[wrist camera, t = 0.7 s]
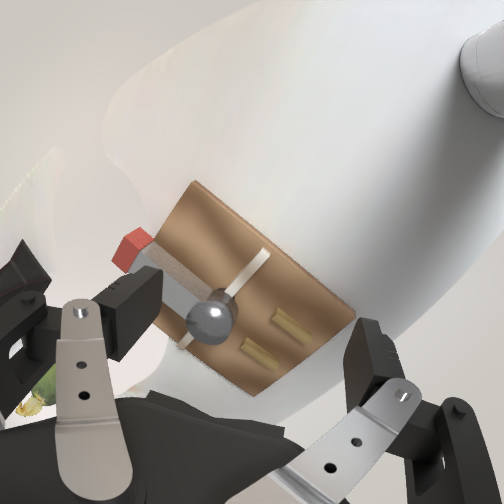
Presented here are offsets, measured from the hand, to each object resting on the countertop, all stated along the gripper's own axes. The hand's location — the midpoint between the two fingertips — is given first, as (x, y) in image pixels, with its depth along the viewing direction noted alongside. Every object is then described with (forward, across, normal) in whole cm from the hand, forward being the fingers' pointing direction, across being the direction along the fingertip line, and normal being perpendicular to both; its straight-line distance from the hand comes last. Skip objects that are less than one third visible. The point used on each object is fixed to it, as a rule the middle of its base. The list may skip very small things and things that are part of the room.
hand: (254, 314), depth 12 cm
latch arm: (+17, +9, +9) cm, 21 cm away
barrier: (+23, +44, +24) cm, 55 cm away
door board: (+21, +4, +12) cm, 24 cm away
